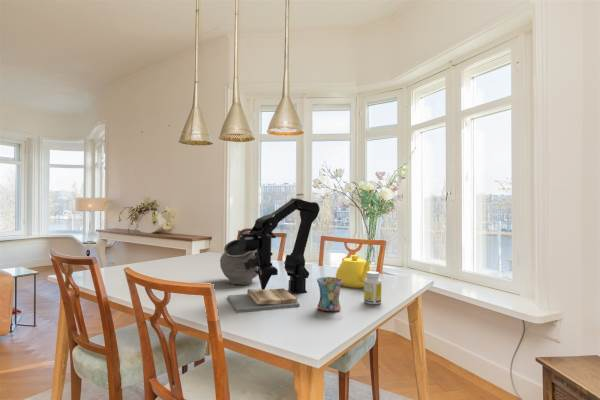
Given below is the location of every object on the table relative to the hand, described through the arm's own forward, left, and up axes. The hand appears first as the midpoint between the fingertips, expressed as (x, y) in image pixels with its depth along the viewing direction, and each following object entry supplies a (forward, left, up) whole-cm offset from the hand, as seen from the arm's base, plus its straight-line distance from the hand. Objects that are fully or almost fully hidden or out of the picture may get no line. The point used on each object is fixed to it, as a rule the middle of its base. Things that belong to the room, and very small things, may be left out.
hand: (263, 289), depth 137 cm
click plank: (+1, +5, -2) cm, 6 cm away
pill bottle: (-39, +18, -4) cm, 43 cm away
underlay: (+2, +5, -4) cm, 6 cm away
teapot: (-48, -10, -4) cm, 49 cm away
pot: (+2, -30, -4) cm, 30 cm away
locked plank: (-7, +5, -4) cm, 9 cm away
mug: (-19, +22, -4) cm, 29 cm away
